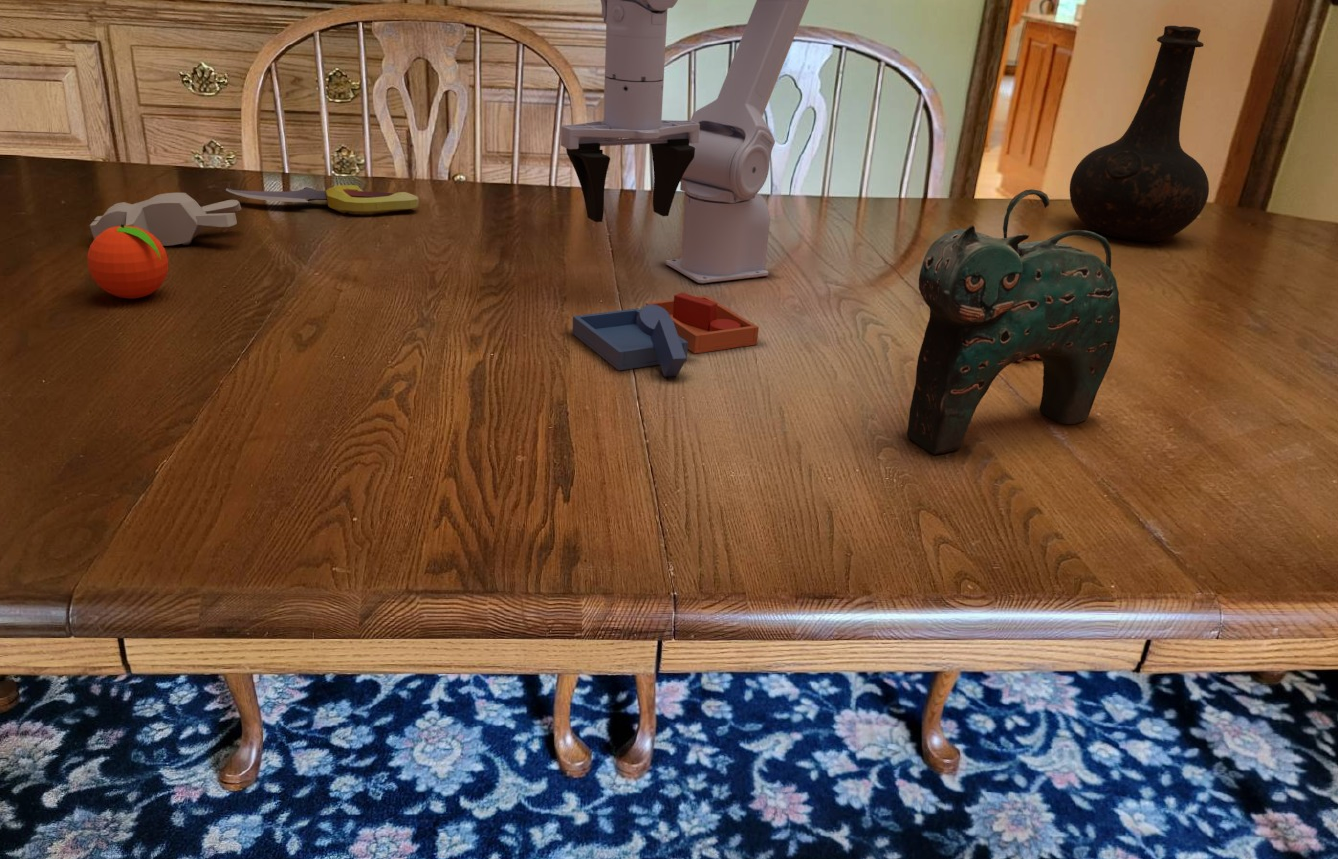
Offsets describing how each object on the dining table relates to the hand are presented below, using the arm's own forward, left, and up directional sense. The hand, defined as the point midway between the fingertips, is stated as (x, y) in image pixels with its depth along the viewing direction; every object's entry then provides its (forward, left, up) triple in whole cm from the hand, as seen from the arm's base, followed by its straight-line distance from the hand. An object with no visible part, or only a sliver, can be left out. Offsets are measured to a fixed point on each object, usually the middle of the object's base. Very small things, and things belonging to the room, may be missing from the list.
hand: (628, 216), depth 108 cm
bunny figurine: (+40, -34, -9) cm, 53 cm away
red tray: (-2, +12, -9) cm, 15 cm away
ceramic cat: (-14, +40, -9) cm, 43 cm away
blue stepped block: (+6, +18, -7) cm, 20 cm away
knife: (+21, -45, -9) cm, 50 cm away
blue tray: (+6, +13, -9) cm, 17 cm away
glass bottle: (-82, -2, -9) cm, 82 cm away
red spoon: (-3, +12, -8) cm, 15 cm away
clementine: (+45, -15, -9) cm, 49 cm away
